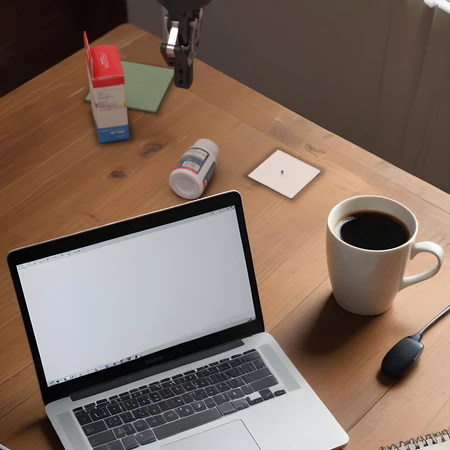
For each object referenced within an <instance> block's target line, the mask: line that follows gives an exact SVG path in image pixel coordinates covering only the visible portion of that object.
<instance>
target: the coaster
mask: <svg viewBox="0 0 450 450" xmlns="http://www.w3.org/2000/svg"><path fill="white" fill-rule="evenodd" d="M321 172H322V170H320V169H318V168H317V167H314V166H312V165H310V164H308V163H306V162H304V161H302V160H300V159H299V158H296V157H294V156H292V155H290V154H288V153H286V152H284V151H281V150H280V149H277V150H276V151H275V152H273V153H272V154H271V155H270V156H269V157H268V158H266V159H265V160H264V161H263V162H262V163H261V164H260V165H258V166H257V167H256V168H255V169H254V170H253V171H251V172H250V173H249V174H248V175H247V176H248V177H249V178H251V179H252V180H255V181H257V182H259V183H260V184H262V185H264V186H266V187H268V188H270V189H272V190H273V191H276V192H277V193H279V194H281V195H283V196H285V197H287V198H289V199H293V198H294V197H295V196H296V195H297V194H298V193H299V192H300V191H302V189H303V188H305V187H306V186H307V185H309V183H311V181H313V179H314V178H315V177H316V176H318V174H319V173H321Z"/></svg>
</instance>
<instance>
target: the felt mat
mask: <svg viewBox="0 0 450 450" xmlns="http://www.w3.org/2000/svg"><path fill="white" fill-rule="evenodd" d="M120 61H121V65H122V69H123V72H124V81H125V93H126V105H127V110H128V109H129V110H134V111H135V110H136V111H140V112H146V113H152V114H157V112H158V111H159V108H160V105H161V103H162V101H163V100H164V97H165V96H166V93H167V91H168V90H169V87H170V85H171V83H172V81H173V80H174V68H167V67H160V66H155V65H151V64H150V65H149V64H145V63H137V62H131V61H125V60H120ZM84 100H85V102H89V103H91V96H90V91H89V92H88V94H87V95H86V97H85V99H84Z"/></svg>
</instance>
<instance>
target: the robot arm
mask: <svg viewBox="0 0 450 450" xmlns="http://www.w3.org/2000/svg"><path fill="white" fill-rule="evenodd" d="M155 1H156V3H158V4H159V5H160V6H162V7H163V9H165V10H166V11H167V13H165V14H164V19H163V24H164V29H165V30H166V41H164V42H161V44H160V45H159V51H160V54H161V56H162V57H163V60H164V62H165V63H166V65H167V67H169V68H173V69H174V77H173V84H174V87H176V88H177V89H183V90H189V89H190V88H191V86H192V84H193V82H194V59H195V57H196V56H197V53H196V50H197V49H196V48H198V47H199V45H200V38H201V33H202V25H203V20H204V13H205V7H206V6H208V5H209V4H210V3H211V2H212V1H213V0H155Z"/></svg>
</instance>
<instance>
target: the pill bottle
mask: <svg viewBox="0 0 450 450" xmlns="http://www.w3.org/2000/svg"><path fill="white" fill-rule="evenodd" d="M219 155H220V149H219V147H218V145H217V144H216V143H215V141H213V140H212V139H211V140H210V139H208V138H199V139H197V140H196V141H195V143H194V144H193V145H192V146H190V147H188V148H187V149H186V150H185V151H184V152H183V154H182V156H181V157H180V158H179V160H178V162H177V163H176V165H175V167H174V168H173V169H172V172H171V173H170V175H169V178H168V183H169V186H170V189H171V190H172V191H173V192H174V193H175V194H176V195H177V196H179V197H181V198H183V199H185V200H196V199H198V198H199V197H200V196H202V194H203V193H204V191H205V189H206V187H207V186H208V184H209V183H210V180H211V179H212V177H213V175H214V174H215V172H216V169H217V167H218V164H217V162H218V161H217V159H218V158H219Z"/></svg>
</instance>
